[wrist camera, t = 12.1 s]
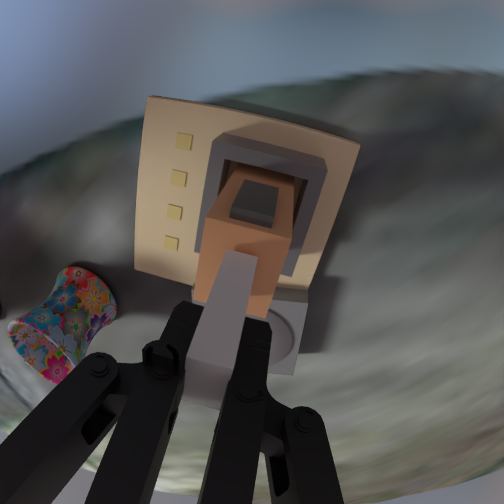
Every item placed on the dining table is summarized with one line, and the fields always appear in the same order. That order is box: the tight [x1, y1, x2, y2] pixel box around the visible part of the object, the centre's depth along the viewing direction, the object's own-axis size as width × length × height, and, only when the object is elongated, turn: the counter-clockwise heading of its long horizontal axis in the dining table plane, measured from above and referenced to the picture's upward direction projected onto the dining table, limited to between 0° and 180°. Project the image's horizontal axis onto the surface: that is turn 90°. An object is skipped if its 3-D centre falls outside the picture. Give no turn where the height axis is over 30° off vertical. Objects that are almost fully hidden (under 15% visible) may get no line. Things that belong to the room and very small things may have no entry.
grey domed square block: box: [191, 280, 308, 376], centre depth 31 cm, size 10×10×4 cm
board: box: [134, 96, 360, 290], centre depth 25 cm, size 16×16×4 cm
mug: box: [8, 267, 117, 385], centre depth 30 cm, size 12×9×11 cm
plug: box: [193, 163, 294, 318], centre depth 20 cm, size 4×6×10 cm
